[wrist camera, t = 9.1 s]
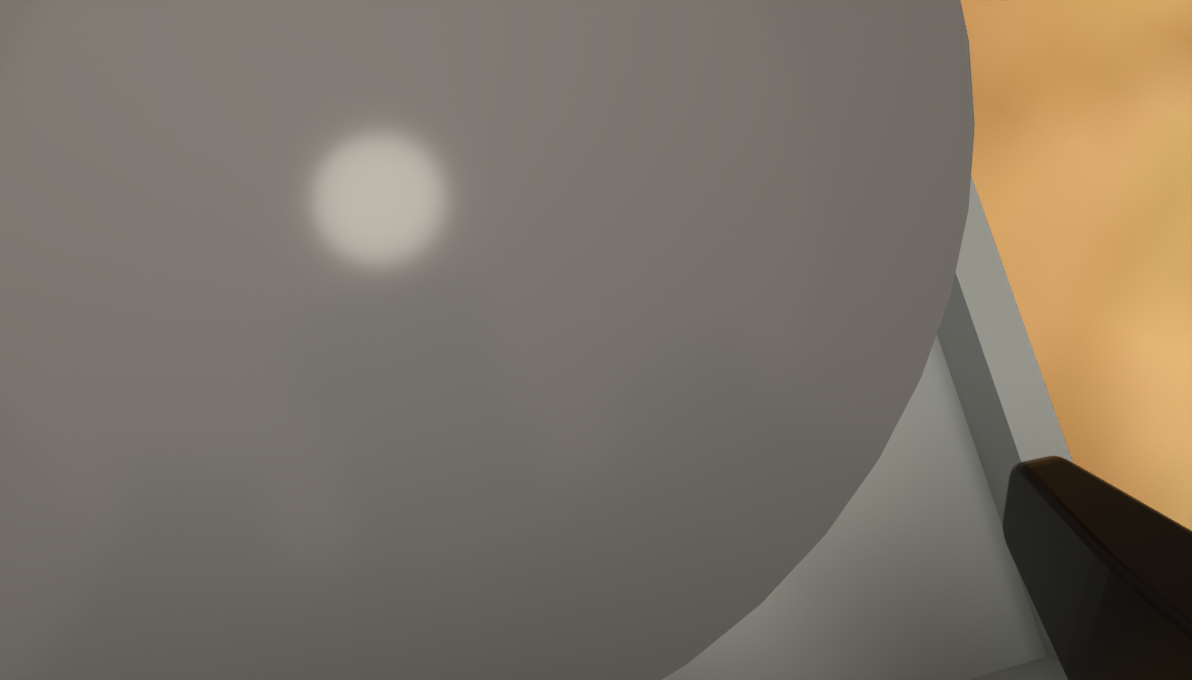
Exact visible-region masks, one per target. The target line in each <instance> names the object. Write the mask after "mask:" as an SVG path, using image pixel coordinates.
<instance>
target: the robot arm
mask: <svg viewBox="0 0 1192 680" xmlns="http://www.w3.org/2000/svg"><path fill="white" fill-rule="evenodd" d="M1002 527H1003V534H1004V538H1005V541H1006V545H1007V547H1008V549H1009V552H1010V554H1011V556H1012V558H1013V560H1014V563H1015V565H1016V567H1017V569H1018V571H1019V574H1020V576H1021V578H1022V580H1023V582H1024V585H1025V587H1026V589H1027V591H1028V593H1029V596H1030V598H1031V600H1032V602H1033V605H1034V607H1035V609H1036V611H1037V613H1038V616H1039V618H1040V620H1041V622H1042V624H1043V627H1044V629H1045V631H1046V633H1047V635H1048V638H1049V640H1050V642H1051V644H1052V646H1053V649H1054V651H1055V653H1056V655H1057V657H1058V660H1059V662H1060V664H1061V666H1062V668H1063V671H1064V673H1065V675H1066V677H1067V679H1068V680H1192V531H1191V530H1189V529H1187V528H1186V527H1184V526H1182V525H1180V524H1179V523H1177V522H1175V521H1174V520H1172V519H1170V518H1168V517H1167V516H1165V515H1163V514H1161V513H1160V512H1158V511H1156V510H1154V509H1153V508H1151V507H1149V506H1147V505H1146V504H1144V503H1142V502H1140V501H1139V500H1137V499H1135V498H1133V497H1132V496H1130V495H1128V494H1127V493H1125V492H1123V491H1121V490H1120V489H1118V488H1116V487H1114V486H1113V485H1111V484H1109V483H1107V482H1106V481H1104V480H1102V479H1100V478H1099V477H1097V476H1095V475H1093V474H1092V473H1090V472H1088V471H1086V470H1085V469H1083V468H1081V467H1080V466H1078V465H1076V464H1074V463H1073V462H1071V461H1069V460H1067V459H1065V458H1062V457H1059V456H1046V457H1042V458H1037V459H1032V460H1028V461H1023V462H1019V463H1017V464H1015V465H1014V466H1013V468H1012V469H1011V471H1010V474H1009V479H1008V486H1007V493H1006V499H1005V506H1004V513H1003V519H1002Z"/></svg>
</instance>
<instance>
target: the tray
mask: <svg viewBox="0 0 1192 680" xmlns="http://www.w3.org/2000/svg"><path fill="white" fill-rule="evenodd" d="M1046 456H1059V457H1062V458H1065V459H1067V460H1069V461H1071V462H1072V459H1071V456H1070V453H1069V451H1068V448H1067V445H1066V442H1065V439H1064V437H1063V434H1062V431H1061V428H1060V425H1059V422H1058V420H1057V417H1056V414H1055V411H1054V408H1053V406H1052V403H1051V400H1050V397H1049V394H1048V391H1047V389H1046V386H1045V383H1044V380H1043V377H1042V374H1041V372H1040V369H1039V366H1038V363H1037V360H1036V358H1035V355H1034V352H1033V349H1032V346H1031V343H1030V341H1029V338H1028V335H1027V332H1026V329H1025V326H1024V324H1023V321H1022V318H1021V315H1020V312H1019V310H1018V307H1017V304H1016V301H1015V298H1014V295H1013V293H1012V290H1011V287H1010V284H1009V281H1008V279H1007V276H1006V273H1005V270H1004V267H1003V264H1002V262H1001V259H1000V256H999V253H998V250H997V247H996V245H995V242H994V239H993V236H992V233H991V231H990V228H989V225H988V222H987V219H986V216H985V214H984V211H983V208H982V205H981V202H980V199H979V197H978V194H977V191H976V188H975V185H974V183H973V180H972V177H971V182H970V196H969V210H968V215H967V220H966V224H965V229H964V234H963V239H962V243H961V248H960V253H959V258H958V262H957V267H956V272H955V277H954V282H953V286H952V291H951V296H950V298H949V301H948V304H947V307H946V310H945V312H944V315H943V318H942V321H941V324H940V326H939V329H938V332H937V335H936V337H935V340H934V343H933V346H932V349H931V351H930V354H929V357H928V360H927V363H926V365H925V368H924V371H923V374H922V377H921V379H920V381H919V383H918V385H917V387H916V389H915V391H914V393H913V395H912V397H911V398H910V400H909V402H908V404H907V406H906V408H905V410H904V412H903V414H902V416H901V418H900V420H899V422H898V423H897V425H896V427H895V429H894V431H893V433H892V435H891V437H890V439H889V441H888V443H887V445H886V447H885V448H884V450H883V452H882V454H881V456H880V458H879V460H878V461H877V463H876V464H875V465H874V467H873V468H872V470H871V471H870V473H869V474H868V475H867V477H866V478H865V480H864V481H863V482H862V484H861V485H860V487H859V488H858V490H857V491H856V492H855V494H854V495H853V497H852V498H851V499H850V501H849V502H848V504H847V505H846V506H845V508H844V509H843V511H842V512H841V514H840V515H839V516H838V518H837V519H836V521H835V522H834V523H833V525H832V526H831V528H830V529H829V531H828V532H827V533H826V535H825V536H824V537H823V538H822V539H821V540H820V541H819V542H818V543H817V544H816V546H815V547H814V548H813V549H812V550H811V551H810V552H809V553H808V554H807V555H806V556H805V557H804V558H803V559H802V561H801V562H800V563H799V564H798V565H797V566H796V567H795V568H794V569H793V570H792V571H791V572H790V573H789V574H788V576H787V577H786V578H785V579H784V580H783V581H782V582H781V583H780V584H779V585H778V586H777V587H776V588H775V589H774V591H773V592H772V593H771V594H770V595H769V596H768V597H767V598H766V599H765V600H764V601H763V602H762V603H761V604H760V605H759V606H758V607H757V608H755V609H754V610H753V611H752V612H750V613H749V614H748V615H747V616H746V617H744V618H743V619H742V620H741V621H739V622H738V623H737V624H736V625H735V626H733V627H732V628H731V629H730V630H728V631H727V632H726V633H725V634H724V635H722V636H721V637H720V638H719V639H717V640H716V641H715V642H714V643H713V644H711V645H710V646H709V647H708V648H706V649H705V650H704V651H703V652H702V653H700V654H699V655H698V656H697V657H695V658H694V659H693V660H692V661H691V662H689V663H688V664H687V665H685V666H683V667H682V668H680V669H678V670H677V671H675V672H674V673H672V674H670V675H669V676H667V677H665V678H664V679H662V680H1068V679H1067V677H1066V675H1065V673H1064V671H1063V668H1062V666H1061V664H1060V662H1059V660H1058V657H1057V655H1056V653H1055V651H1054V649H1053V646H1052V644H1051V642H1050V640H1049V638H1048V635H1047V633H1046V631H1045V629H1044V627H1043V624H1042V622H1041V620H1040V618H1039V616H1038V613H1037V611H1036V609H1035V607H1034V605H1033V602H1032V600H1031V598H1030V596H1029V593H1028V591H1027V589H1026V587H1025V585H1024V582H1023V580H1022V578H1021V576H1020V574H1019V571H1018V569H1017V567H1016V565H1015V563H1014V560H1013V558H1012V556H1011V554H1010V552H1009V549H1008V547H1007V545H1006V541H1005V538H1004V534H1003V527H1002V519H1003V513H1004V506H1005V499H1006V493H1007V486H1008V479H1009V474H1010V471H1011V469H1012V468H1013V466H1014V465H1015V464H1017V463H1019V462H1023V461H1028V460H1032V459H1037V458H1042V457H1046Z"/></svg>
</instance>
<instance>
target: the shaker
mask: <svg viewBox="0 0 1192 680" xmlns="http://www.w3.org/2000/svg"><path fill="white" fill-rule="evenodd" d="M973 138H974V111H973V96H972V82H971V67H970V52H969V40H968V35H967V30H966V25H965V21H964V16H963V11H962V6H961V2H960V0H0V680H662V679H664V678H665V677H667V676H669V675H670V674H672V673H674V672H675V671H677V670H678V669H680V668H682V667H683V666H685V665H687V664H688V663H689V662H691V661H692V660H693V659H694V658H695V657H697V656H698V655H699V654H700V653H702V652H703V651H704V650H705V649H706V648H708V647H709V646H710V645H711V644H713V643H714V642H715V641H716V640H717V639H719V638H720V637H721V636H722V635H724V634H725V633H726V632H727V631H728V630H730V629H731V628H732V627H733V626H735V625H736V624H737V623H738V622H739V621H741V620H742V619H743V618H744V617H746V616H747V615H748V614H749V613H750V612H752V611H753V610H754V609H755V608H757V607H758V606H759V605H760V604H761V603H762V602H763V601H764V600H765V599H766V598H767V597H768V596H769V595H770V594H771V593H772V592H773V591H774V589H775V588H776V587H777V586H778V585H779V584H780V583H781V582H782V581H783V580H784V579H785V578H786V577H787V576H788V574H789V573H790V572H791V571H792V570H793V569H794V568H795V567H796V566H797V565H798V564H799V563H800V562H801V561H802V559H803V558H804V557H805V556H806V555H807V554H808V553H809V552H810V551H811V550H812V549H813V548H814V547H815V546H816V544H817V543H818V542H819V541H820V540H821V539H822V538H823V537H824V536H825V535H826V533H827V532H828V531H829V529H830V528H831V526H832V525H833V523H834V522H835V521H836V519H837V518H838V516H839V515H840V514H841V512H842V511H843V509H844V508H845V506H846V505H847V504H848V502H849V501H850V499H851V498H852V497H853V495H854V494H855V492H856V491H857V490H858V488H859V487H860V485H861V484H862V482H863V481H864V480H865V478H866V477H867V475H868V474H869V473H870V471H871V470H872V468H873V467H874V465H875V464H876V463H877V461H878V460H879V458H880V456H881V454H882V452H883V450H884V448H885V447H886V445H887V443H888V441H889V439H890V437H891V435H892V433H893V431H894V429H895V427H896V425H897V423H898V422H899V420H900V418H901V416H902V414H903V412H904V410H905V408H906V406H907V404H908V402H909V400H910V398H911V397H912V395H913V393H914V391H915V389H916V387H917V385H918V383H919V381H920V379H921V377H922V374H923V371H924V368H925V365H926V363H927V360H928V357H929V354H930V351H931V349H932V346H933V343H934V340H935V337H936V335H937V332H938V329H939V326H940V324H941V321H942V318H943V315H944V312H945V310H946V307H947V304H948V301H949V298H950V296H951V291H952V286H953V282H954V277H955V272H956V267H957V262H958V258H959V253H960V248H961V243H962V239H963V234H964V229H965V224H966V220H967V215H968V210H969V196H970V182H971V167H972V153H973Z"/></svg>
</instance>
